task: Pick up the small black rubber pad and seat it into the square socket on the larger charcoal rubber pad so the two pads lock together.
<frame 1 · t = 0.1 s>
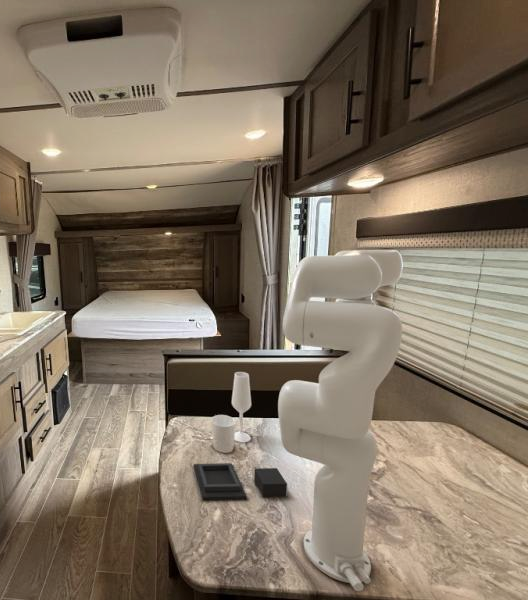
hand: (351, 354, 93), 37 cm above the table, tool pointing down, fingers open, 9 cm apart
champagne flute: (240, 437, 119), on the table
black pad: (269, 488, 94), on the table
base pad: (218, 481, 97), on the table
white cup: (223, 447, 114), on the table
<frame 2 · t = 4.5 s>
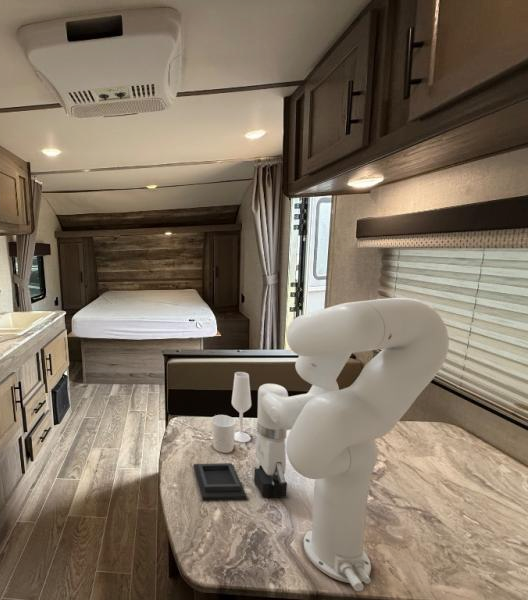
hand: (269, 486, 94), 1 cm above the table, tool pointing down, fingers closed on black pad, 6 cm apart
black pad: (269, 488, 94), on the table, touching gripper
everything else where it was.
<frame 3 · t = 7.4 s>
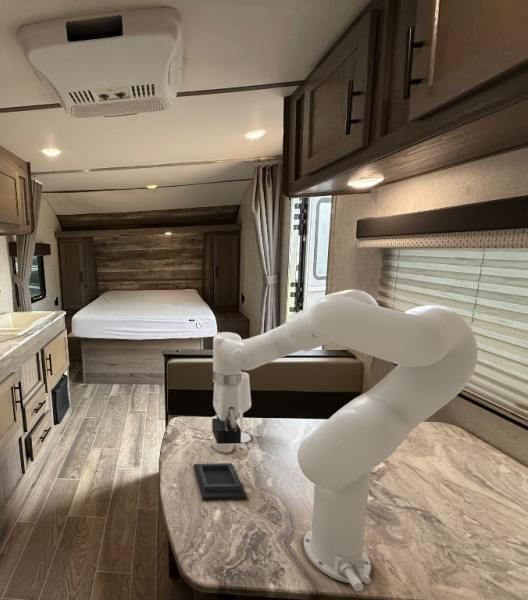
hand: (225, 434, 94), 15 cm above the table, tool pointing down, fingers closed on black pad, 6 cm apart
black pad: (225, 437, 94), point 15 cm above the table, touching gripper
everything else where it was.
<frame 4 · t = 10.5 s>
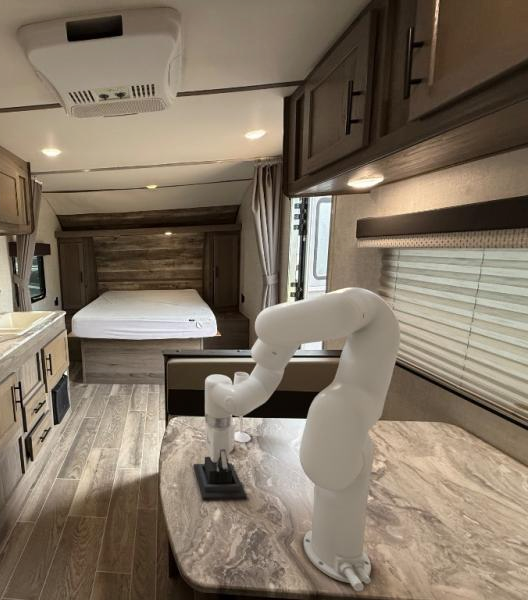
hand: (217, 473, 97), 3 cm above the table, tool pointing down, fingers closed on black pad, 6 cm apart
black pad: (217, 475, 97), point 2 cm above the table, touching gripper
everything else where it was.
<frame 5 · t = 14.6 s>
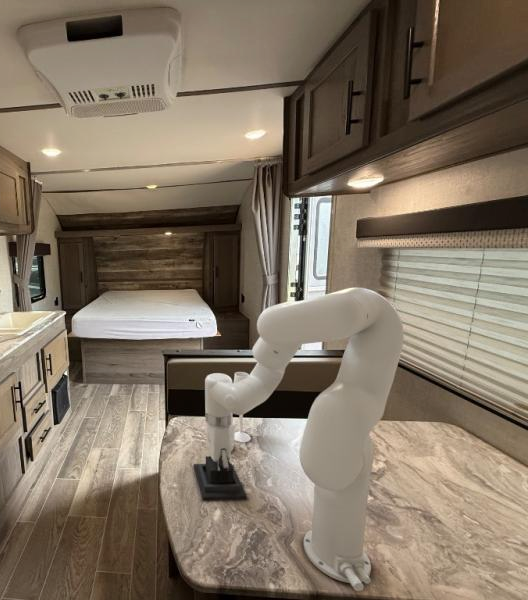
hand: (219, 473, 96), 3 cm above the table, tool pointing down, fingers closed on black pad, 6 cm apart
black pad: (219, 475, 96), point 2 cm above the table, touching gripper
everything else where it was.
when the fingers open (3 cm above the table, at t = 18.5 s): black pad drops 1 cm, resting on base pad.
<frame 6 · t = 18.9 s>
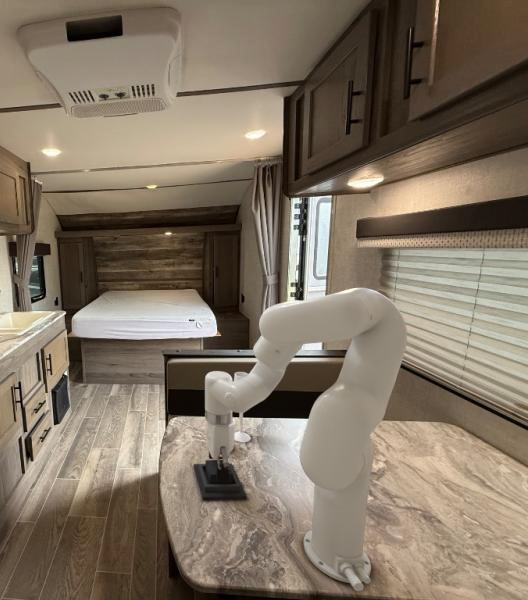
hand: (218, 468, 96), 4 cm above the table, tool pointing down, fingers open, 9 cm apart
black pad: (218, 479, 97), point 1 cm above the table, touching base pad
everything else where it was.
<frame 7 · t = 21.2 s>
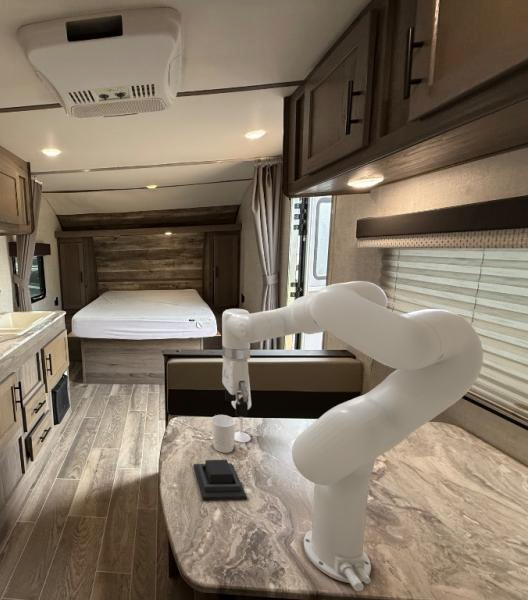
hand: (235, 408, 96), 22 cm above the table, tool pointing down, fingers open, 9 cm apart
nothing on the table moved.
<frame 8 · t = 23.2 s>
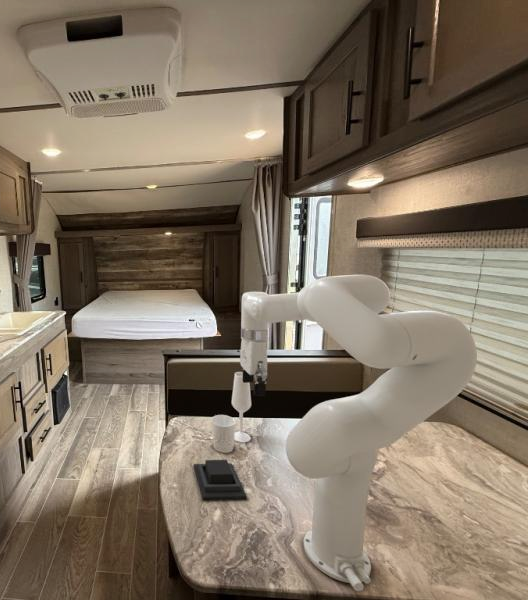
hand: (253, 388, 99), 26 cm above the table, tool pointing down, fingers open, 9 cm apart
nothing on the table moved.
at the end: black pad 0.1 cm off-centre on the base pad, point 1.0 cm above the base pad's base; black pad tilted 0°; the gripper is holding nothing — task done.
